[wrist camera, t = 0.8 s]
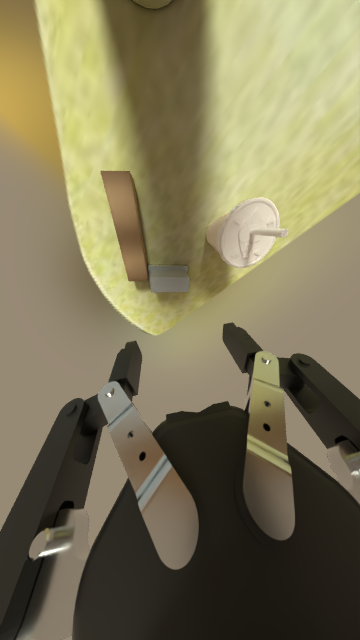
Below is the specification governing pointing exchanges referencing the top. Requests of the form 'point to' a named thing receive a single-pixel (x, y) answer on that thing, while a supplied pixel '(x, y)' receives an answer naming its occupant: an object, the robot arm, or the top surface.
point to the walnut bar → (126, 222)
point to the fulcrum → (168, 278)
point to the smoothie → (246, 232)
